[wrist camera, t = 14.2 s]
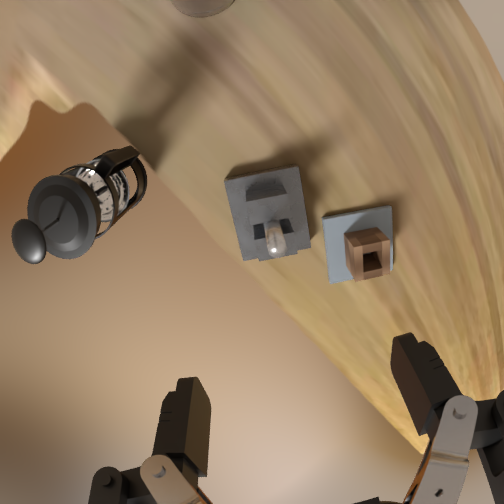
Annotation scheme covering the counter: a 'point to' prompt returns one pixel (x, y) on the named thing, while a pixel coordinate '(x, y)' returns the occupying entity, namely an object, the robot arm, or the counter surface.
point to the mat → (351, 223)
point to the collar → (368, 263)
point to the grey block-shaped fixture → (269, 212)
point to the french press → (78, 206)
